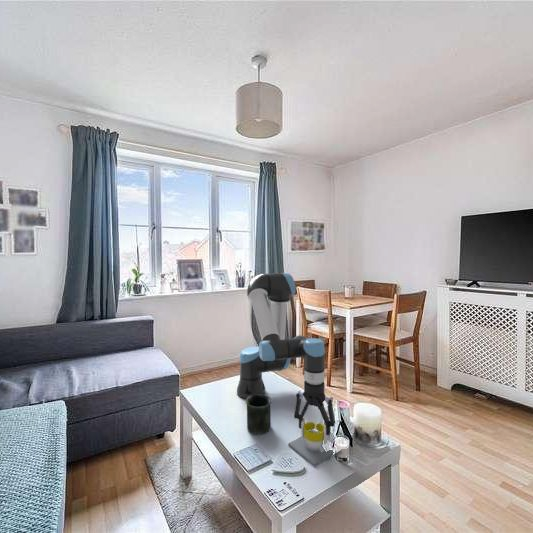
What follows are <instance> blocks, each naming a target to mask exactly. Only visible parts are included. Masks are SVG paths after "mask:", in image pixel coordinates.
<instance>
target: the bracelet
mask: <svg viewBox="0 0 533 533" xmlns="http://www.w3.org/2000/svg"><path fill="white" fill-rule="evenodd" d="M324 426H325V424H322V423H321V422H318V423H316V424H315V423H314V422H313V421H308V422H305V424H304V437H305V438H306V439H308V440H310V441H314V442H319V441H322V440H324ZM315 429H316V431H319V432H320V433H313V432H309V431H311V430H315Z"/></svg>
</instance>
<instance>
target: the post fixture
mask: <svg viewBox="0 0 533 533" xmlns="http://www.w3.org/2000/svg"><path fill="white" fill-rule="evenodd" d="M309 432H313V433H320V431H318V430H315V429H313V430H309ZM287 444H288V447H289V448H290V449H291V450H293V451H294V452H295V453H297V454H298V455H299V456H300V457H302V458H303V459H304V460H305V461H306V462H307V463H309V464H310V465H312V467H314V468H315V467H317V466H318V465H320V464H322V463H323V462H324V461H326V460H328V459H330V458H331V456H332V455H333V453H334V452H333V450H329V451H327V452H326V451H324V448H323V447H322V445H323V440H322V441H319V442H314V441H310V440H308V439H306V438H305V437H304V438H303V439H302V438H301V436H300V437H298V438H296V439H294V440H292V441H290V442H288V443H287ZM333 456H334V455H333ZM333 456H332V457H333Z"/></svg>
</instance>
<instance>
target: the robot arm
mask: <svg viewBox="0 0 533 533" xmlns="http://www.w3.org/2000/svg"><path fill="white" fill-rule="evenodd" d="M295 294H296V284H295V281H294V277H293V276H292V275H291V274H290V273H288V272H287V273H285V272H276V273H274V272H273V273H260V274H257V275H256V276H254V277H253V278H252V279H251V280H250V282H249V284H248V286H247V289H246V296H247V299H248V301H249V302H250V304H251V306H252V309H253V312H254V318H255V320H256V324H257V328H258V331H259V334H260V339H261V341H260V342H259V344H258V346H250V347H246V348H244V349H242V350H241V352H240V353H239V381H238V385H237V388H236V394H237V396H238V397H239V398H241V399H244V400H246V399H247V398H248V397H250V396H252V395H256V394H262V395H265V394H266V386H265V382H264V380H263V373H268V372H269V373H270V372H278V371H279V372H281V371H285V370H287V369H288V368H289V367H290V364H291V359H296V358H298V359H299V358H301V359H302V360H303V366H304V367H303V368H304V369H303V374H304V375H303V376H304V378H303V379H304V382H303V383H304V384H303V385H304V387H303V392H302V391H297V393H296V395H295V397H296V403H295V409H294V415H293V418H294V419H297V420H298V429H300V431H301V436H300V437H301V438H302V439H303V438H304V424H305V423H306V418H305V414H306V412H307V410H308V409H309V406H314V407H317V409H318V410H319V413H320V414H321V417H322V421H323V422H324V444H326V443H327V439H328V436H330V434H331V428H333V427H335V424H336V418H335V413H334V407H333V400H334V398H333V397H332V396H331V397H328V396H326V394H325V393H326V392H325V357H326V356H325V354H326V353H325V352H326V349H325V343H324V341H323V339H320V338H315V337H311V338H308V337H306V336H304V335H302V334H298V335H295V336H294V337H293V338H286V326H287V325H286V324H287V311H288V303H289V302H291V297H293V296H294V295H295ZM269 302H270V303H269ZM303 398H304V399H305V401H306V402H305V405H304V407H303V409H302V411H301V413H300V409H301V404H302V399H303ZM324 402H326V405H327V410H328V411H327V410H326V408H325V404H324ZM327 412H328V413H327Z"/></svg>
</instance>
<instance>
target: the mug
mask: <svg viewBox="0 0 533 533" xmlns="http://www.w3.org/2000/svg"><path fill="white" fill-rule="evenodd" d="M245 404H246V428H247V430H248V431H249V432H250V433H251V434H253V435H264V434H267V433H268V432H270V430H271V427H272V426H271V425H272V422H271V420H272V419H271V416H272V415H271V412H272V410H271V409H272V408H271V404H272V399H271V397H270V396H268V395H265V394H264V395H262V394H256V395H252V396H250V397H248V398H247V399H245Z"/></svg>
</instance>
